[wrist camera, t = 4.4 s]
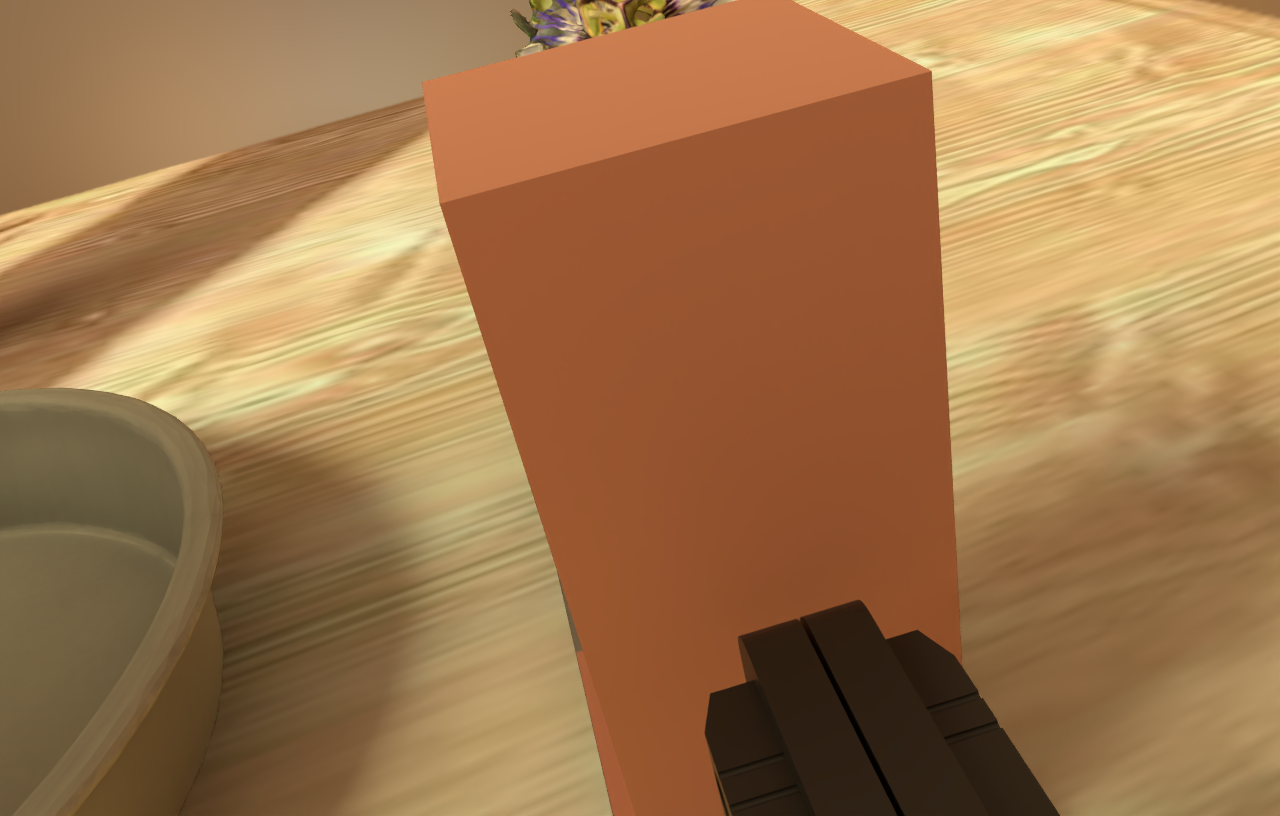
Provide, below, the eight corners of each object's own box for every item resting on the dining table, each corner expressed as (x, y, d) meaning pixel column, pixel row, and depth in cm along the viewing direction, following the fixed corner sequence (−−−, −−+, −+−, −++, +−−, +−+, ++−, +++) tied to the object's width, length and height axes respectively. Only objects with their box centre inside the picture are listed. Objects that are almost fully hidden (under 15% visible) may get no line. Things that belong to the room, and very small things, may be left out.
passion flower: (682, 295, 49) (485, 145, 42) (626, 182, 57) (452, 40, 50) (868, 118, 45) (688, -80, 38) (781, 24, 53) (618, -155, 46)
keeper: (645, 928, 16) (399, 214, 10) (590, 695, 21) (393, 89, 14) (993, 814, 17) (968, 60, 10) (870, 608, 21) (799, -17, 15)
